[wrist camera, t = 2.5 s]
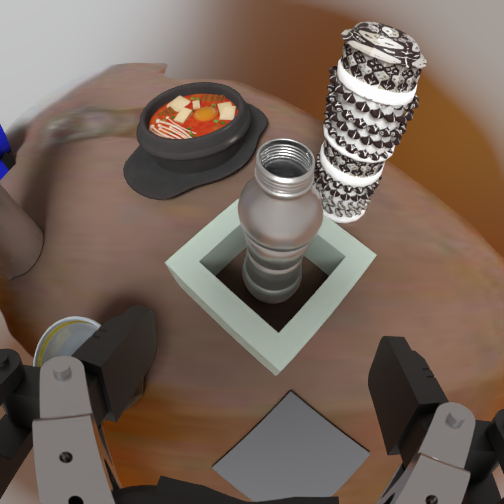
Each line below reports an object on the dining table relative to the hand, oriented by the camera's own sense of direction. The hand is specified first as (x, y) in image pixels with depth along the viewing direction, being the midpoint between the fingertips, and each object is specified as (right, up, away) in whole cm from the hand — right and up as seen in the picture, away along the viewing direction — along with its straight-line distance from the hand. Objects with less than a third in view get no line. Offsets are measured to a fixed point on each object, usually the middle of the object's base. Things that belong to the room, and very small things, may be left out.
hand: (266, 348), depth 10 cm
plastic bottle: (+2, 0, +26) cm, 26 cm away
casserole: (-9, +19, +36) cm, 42 cm away
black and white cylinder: (+12, +11, +31) cm, 35 cm away
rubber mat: (+4, -19, +16) cm, 25 cm away
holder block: (+2, 0, +25) cm, 26 cm away
